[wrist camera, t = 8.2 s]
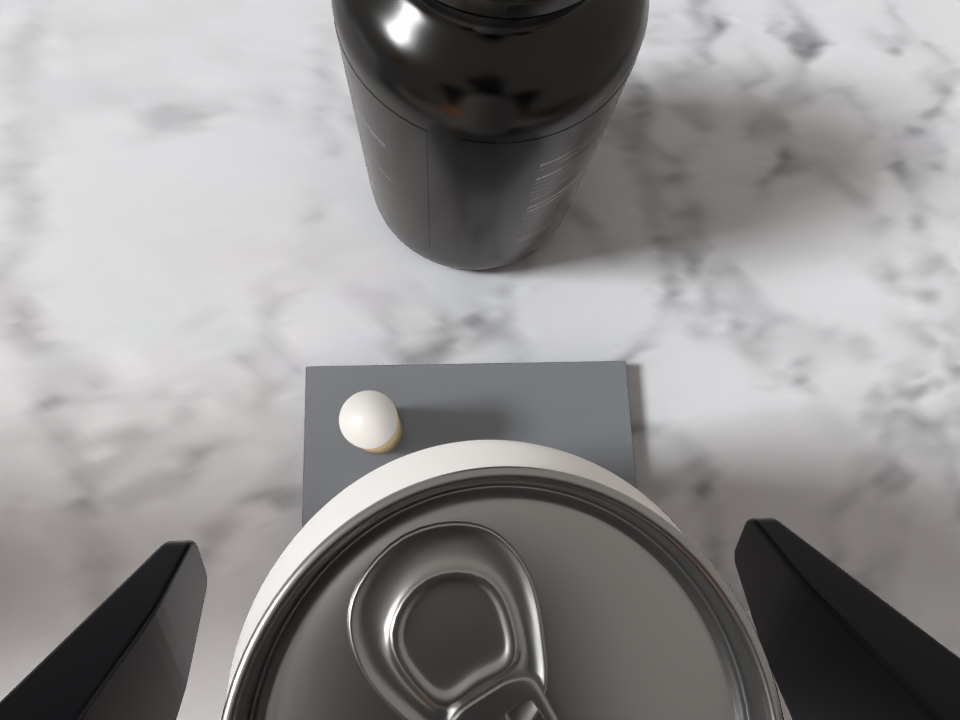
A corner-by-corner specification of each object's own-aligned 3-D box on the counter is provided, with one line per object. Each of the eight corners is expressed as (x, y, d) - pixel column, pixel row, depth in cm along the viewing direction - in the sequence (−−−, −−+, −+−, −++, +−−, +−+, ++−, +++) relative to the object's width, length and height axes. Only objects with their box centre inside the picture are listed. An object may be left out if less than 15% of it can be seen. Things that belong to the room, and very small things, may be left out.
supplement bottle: (539, 80, 22) (667, -389, 10) (589, 254, 21) (802, -51, 9) (350, 111, 21) (252, -363, 9) (392, 295, 20) (338, 15, 8)
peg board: (653, 771, 17) (716, 850, 14) (299, 799, 17) (261, 893, 13) (619, 364, 20) (665, 335, 16) (309, 370, 19) (280, 341, 15)
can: (498, 424, 18) (620, 322, 7) (606, 619, 18) (959, 889, 6) (303, 531, 17) (48, 629, 6) (408, 745, 17) (359, 1382, 5)
